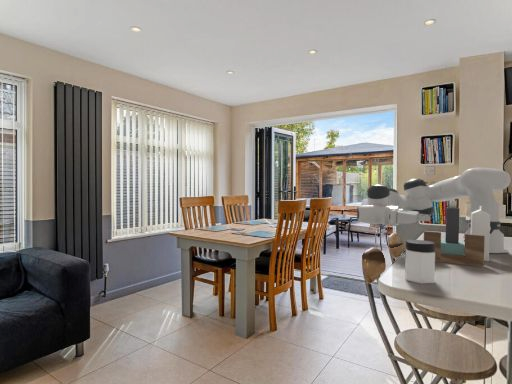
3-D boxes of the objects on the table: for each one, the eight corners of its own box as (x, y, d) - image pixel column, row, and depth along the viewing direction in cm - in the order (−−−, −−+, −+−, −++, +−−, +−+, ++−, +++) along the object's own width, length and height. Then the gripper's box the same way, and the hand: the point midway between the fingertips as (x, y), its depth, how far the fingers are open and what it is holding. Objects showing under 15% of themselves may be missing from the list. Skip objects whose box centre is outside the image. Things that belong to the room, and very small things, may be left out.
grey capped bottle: (445, 241, 133) (446, 200, 133) (457, 242, 131) (459, 200, 131) (445, 242, 130) (446, 200, 129) (458, 243, 127) (459, 201, 127)
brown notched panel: (423, 258, 131) (424, 230, 131) (482, 265, 121) (483, 235, 121) (423, 259, 129) (423, 231, 129) (483, 266, 119) (484, 235, 119)
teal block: (440, 256, 136) (440, 240, 136) (462, 259, 132) (462, 242, 132) (440, 260, 129) (440, 242, 129) (463, 262, 125) (464, 245, 125)
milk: (471, 259, 131) (472, 206, 131) (469, 256, 137) (470, 205, 136) (489, 261, 128) (490, 206, 128) (487, 258, 134) (488, 205, 133)
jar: (403, 274, 106) (404, 238, 106) (431, 277, 103) (432, 240, 103) (405, 282, 98) (406, 242, 98) (435, 285, 95) (437, 245, 95)
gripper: (396, 220, 150) (430, 223, 143) (391, 225, 132) (429, 228, 125) (397, 207, 150) (430, 208, 143) (391, 210, 132) (429, 212, 125)
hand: (430, 217), depth 134 cm, fingers open, 8 cm apart
